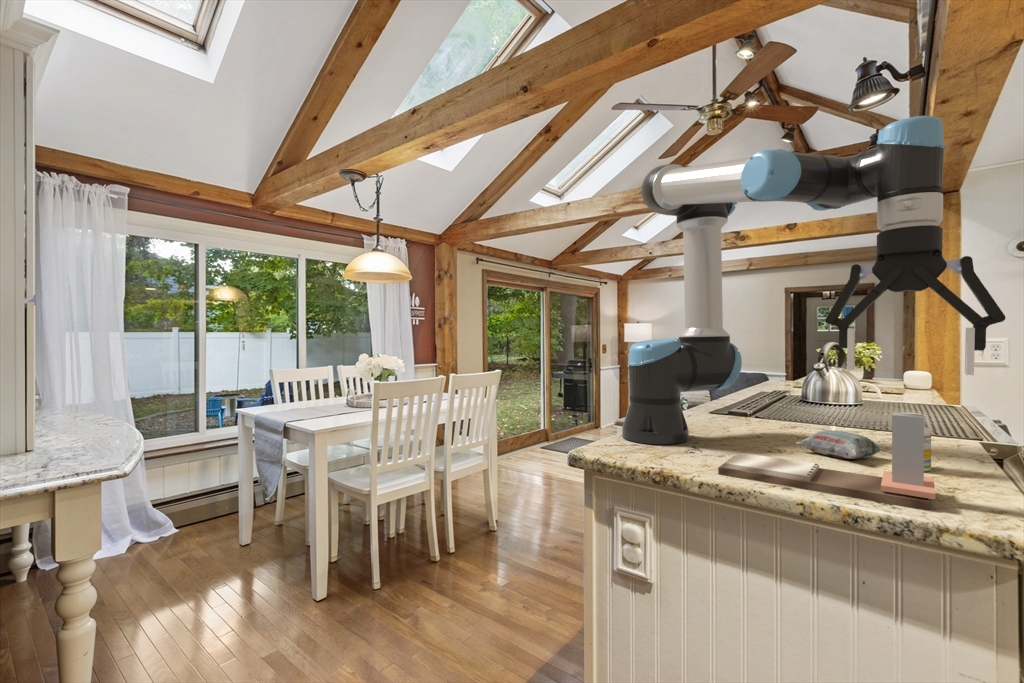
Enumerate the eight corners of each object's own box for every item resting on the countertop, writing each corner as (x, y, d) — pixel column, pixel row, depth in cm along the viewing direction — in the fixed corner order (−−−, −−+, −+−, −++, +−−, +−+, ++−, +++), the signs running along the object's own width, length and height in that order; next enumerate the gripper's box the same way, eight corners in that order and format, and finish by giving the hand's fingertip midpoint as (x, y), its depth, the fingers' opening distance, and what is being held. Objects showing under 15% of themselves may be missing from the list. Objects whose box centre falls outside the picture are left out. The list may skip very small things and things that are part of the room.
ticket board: (718, 474, 84) (718, 462, 84) (734, 461, 92) (734, 450, 92) (929, 510, 66) (929, 495, 66) (927, 491, 74) (927, 477, 74)
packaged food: (855, 466, 88) (856, 439, 88) (794, 452, 99) (795, 428, 99) (884, 461, 92) (884, 435, 92) (822, 448, 103) (822, 425, 103)
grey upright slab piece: (880, 490, 70) (880, 417, 70) (883, 476, 77) (884, 409, 77) (935, 499, 66) (935, 421, 66) (933, 483, 73) (933, 412, 73)
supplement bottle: (890, 462, 90) (890, 411, 90) (927, 466, 87) (927, 413, 87) (894, 469, 86) (894, 415, 86) (934, 473, 83) (934, 417, 83)
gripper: (806, 235, 76) (805, 369, 77) (1037, 210, 60) (1033, 379, 61) (814, 241, 82) (812, 366, 82) (1027, 219, 66) (1023, 374, 66)
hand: (906, 371), depth 72 cm, fingers open, 13 cm apart
